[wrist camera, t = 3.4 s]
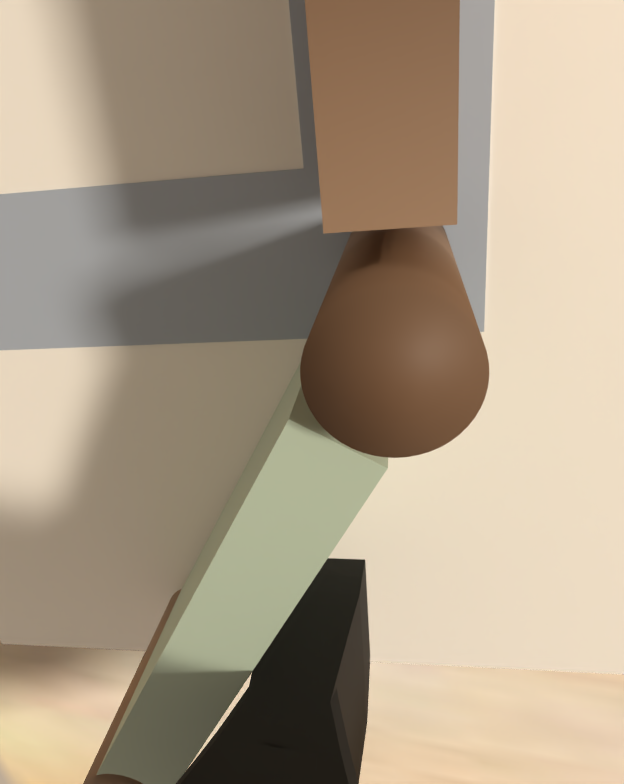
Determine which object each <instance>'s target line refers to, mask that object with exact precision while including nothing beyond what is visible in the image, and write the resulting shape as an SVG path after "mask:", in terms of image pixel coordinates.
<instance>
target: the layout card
mask: <svg viewBox="0 0 624 784" xmlns="http://www.w3.org/2000/svg"><path fill="white" fill-rule="evenodd" d="M443 227H444V229H445V232H446V235H447V237H448V240H449V243H450V246H451V249H452V252H453V255H454V258H455V261H456V264H457V267H458V269H459V272H460V275H461V278H462V281H463V284H464V287H465V290H466V293H467V296H468V299H469V301H470V304H471V307H472V310H473V313H474V316H475V319H476V322H477V325H478V328H479V330H480V333H481V336H482V339H483V342H484V345H485V348H486V351H487V355H488V361H489V383H488V389H487V393H486V396H485V399H484V401H483V404H482V406H481V408H480V410H479V412H478V413H477V415H476V417H475V418H474V420H473V421H472V422H471V423H470V425H469V426H468V427H467V428H466V429H465V430H464V431H463V432H462V433H461V434H460V435H458V436H457V437H456V438H454V439H453V440H452V441H450V442H449V443H447V444H445V445H443V446H442V447H440V448H438V449H435V450H433V451H430V452H427V453H424V454H421V455H416V456H411V457H401V458H388V469H387V470H386V472H385V473H384V475H383V476H382V478H381V479H380V481H379V482H378V484H377V485H376V487H375V488H374V490H373V491H372V493H371V494H370V496H369V497H368V499H367V500H366V502H365V503H364V505H363V506H362V508H361V509H360V511H359V512H358V514H357V515H356V517H355V518H354V520H353V521H352V523H351V524H350V526H349V527H348V529H347V530H346V532H345V533H344V535H343V536H342V538H341V539H340V541H339V542H338V544H337V545H336V547H335V548H334V550H333V551H332V553H331V554H330V556H329V557H328V558H337V559H364V560H365V564H366V584H367V603H368V622H369V642H370V662H380V663H400V664H420V665H441V666H461V667H482V668H502V669H522V670H543V671H563V672H584V673H604V674H624V0H460V32H459V119H458V206H457V225H444V226H443ZM350 234H351V232H339V233H324V234H323V222H322V210H321V197H320V185H319V172H318V160H317V147H316V135H315V122H314V110H313V97H312V85H311V73H310V60H309V48H308V35H307V23H306V10H305V0H0V641H1V644H13V645H33V646H53V647H74V648H94V649H115V650H135V651H146V650H147V648H148V646H149V643H150V641H151V639H152V637H153V635H154V633H155V631H156V629H157V627H158V624H159V622H160V620H161V618H162V616H163V614H164V612H165V610H166V607H167V605H168V603H169V601H170V599H171V597H172V596H173V594H174V593H175V592H177V591H178V590H180V589H182V587H183V585H184V584H185V582H186V580H187V578H188V576H189V574H190V572H191V570H192V568H193V566H194V564H195V563H196V561H197V559H198V557H199V555H200V553H201V551H202V549H203V547H204V545H205V543H206V541H207V540H208V538H209V536H210V534H211V532H212V530H213V528H214V526H215V524H216V522H217V520H218V519H219V517H220V515H221V513H222V511H223V509H224V507H225V505H226V503H227V501H228V499H229V498H230V496H231V494H232V492H233V490H234V488H235V486H236V484H237V482H238V480H239V478H240V477H241V475H242V473H243V471H244V469H245V467H246V465H247V463H248V461H249V459H250V457H251V456H252V454H253V452H254V450H255V448H256V446H257V444H258V442H259V440H260V438H261V436H262V435H263V433H264V431H265V429H266V427H267V425H268V423H269V421H270V419H271V417H272V415H273V413H274V412H275V410H276V408H277V406H278V404H279V402H280V400H281V398H282V396H283V394H284V392H285V391H286V389H287V387H288V385H289V383H290V381H291V379H292V377H293V375H294V373H295V371H296V370H297V368H298V366H299V364H300V362H301V357H302V353H303V349H304V346H305V343H306V341H307V339H308V336H309V334H310V331H311V329H312V326H313V324H314V322H315V319H316V317H317V314H318V312H319V309H320V307H321V305H322V302H323V300H324V297H325V295H326V292H327V290H328V288H329V285H330V283H331V280H332V278H333V275H334V273H335V271H336V268H337V266H338V263H339V261H340V258H341V256H342V254H343V251H344V249H345V246H346V244H347V242H348V239H349V237H350Z"/></svg>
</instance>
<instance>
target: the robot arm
mask: <svg viewBox="0 0 624 784" xmlns="http://www.w3.org/2000/svg"><path fill="white" fill-rule="evenodd" d="M369 669H370V642H369V622H368V603H367V584H366V564H365V560H364V559H337V558H328V559H327V560H326V562H325V563H324V565H323V566H322V568H321V569H320V571H319V572H318V574H317V575H316V577H315V578H314V580H313V581H312V583H311V584H310V586H309V587H308V589H307V590H306V592H305V593H304V595H303V596H302V598H301V599H300V601H299V602H298V604H297V605H296V607H295V608H294V610H293V611H292V613H291V614H290V616H289V617H288V619H287V620H286V622H285V623H284V625H283V626H282V628H281V629H280V631H279V632H278V634H277V635H276V637H275V638H274V640H273V641H272V643H271V644H270V646H269V647H268V649H267V650H266V652H265V653H264V655H263V656H262V658H261V659H260V661H259V662H258V664H257V665H256V667H255V668H254V670H253V671H252V675H251V680H250V685H249V687H248V689H247V690H246V692H245V693H244V694H243V696H242V697H241V699H240V700H239V702H238V703H237V704H236V706H235V707H234V709H233V710H232V712H231V713H230V714H229V716H228V717H227V719H226V720H225V722H224V723H223V724H222V726H221V727H220V728H219V730H218V731H217V732H216V734H215V735H214V736H213V737H212V739H211V740H210V741H209V743H208V744H207V745H206V747H205V748H204V749H203V751H202V752H201V753H200V754H199V756H198V757H197V758H196V759H195V761H194V762H193V763H192V764H191V766H190V767H189V768H188V769H187V770H186V772H185V773H184V774H183V775H182V777H181V778H180V779H179V780H178V781H177V783H176V784H358V783H359V776H360V769H361V762H362V754H363V747H364V740H365V733H366V726H367V713H368V692H369Z"/></svg>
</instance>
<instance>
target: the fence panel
mask: <svg viewBox="0 0 624 784" xmlns="http://www.w3.org/2000/svg"><path fill="white" fill-rule="evenodd" d="M300 365H301V362H300V364H299V366H298V368H297V370H296V371H295V373H294V375H293V377H292V379H291V381H290V383H289V385H288V387H287V389H286V391H285V392H284V394H283V396H282V398H281V400H280V402H279V404H278V406H277V408H276V410H275V412H274V413H273V415H272V417H271V419H270V421H269V423H268V425H267V427H266V429H265V431H264V433H263V435H262V436H261V438H260V440H259V442H258V444H257V446H256V448H255V450H254V452H253V454H252V456H251V457H250V459H249V461H248V463H247V465H246V467H245V469H244V471H243V473H242V475H241V477H240V478H239V480H238V482H237V484H236V486H235V488H234V490H233V492H232V494H231V496H230V498H229V499H228V501H227V503H226V505H225V507H224V509H223V511H222V513H221V515H220V517H219V519H218V520H217V522H216V524H215V526H214V528H213V530H212V532H211V534H210V536H209V538H208V540H207V541H206V543H205V545H204V547H203V549H202V551H201V553H200V555H199V557H198V559H197V561H196V563H195V564H194V566H193V568H192V570H191V572H190V574H189V576H188V578H187V580H186V582H185V584H184V585H183V587H182V589H180V590H178V591H177V592H175V593H174V594H173V596H172V597H171V599H170V601H169V603H168V605H167V607H166V610H165V612H164V614H163V616H162V618H161V620H160V622H159V624H158V627H157V629H156V631H155V633H154V635H153V637H152V639H151V641H150V643H149V646H148V648H147V650H146V652H145V654H144V656H143V658H142V660H141V663H140V665H139V667H138V669H137V671H136V673H135V675H134V677H133V679H132V682H131V684H130V686H129V688H128V690H127V692H126V694H125V696H124V698H123V701H122V703H121V705H120V707H119V709H118V711H117V713H116V715H115V718H114V720H113V722H112V724H111V726H110V728H109V730H108V732H107V734H106V737H105V739H104V741H103V743H102V745H101V747H100V749H99V751H98V753H97V756H96V758H95V760H94V762H93V764H92V766H91V768H90V770H89V773H88V775H87V777H86V779H85V781H84V783H83V784H176V783H177V781H178V780H179V779H180V778H181V777H182V775H183V774H184V773H185V771H186V770H187V768H188V767H189V765H190V764H191V762H192V761H193V759H194V758H195V756H196V755H197V753H198V752H199V750H200V749H201V747H202V746H203V744H204V743H205V741H206V740H207V738H208V737H209V735H210V734H211V732H212V731H213V729H214V728H215V726H216V725H217V724H218V722H219V721H220V719H221V718H222V716H223V715H224V713H225V712H226V710H227V709H228V707H229V706H230V704H231V703H232V701H233V700H234V698H235V697H236V695H237V694H238V692H239V691H240V689H241V688H242V686H243V685H244V683H245V682H246V680H247V679H248V677H249V676H250V674H251V673H252V671H253V670H254V668H255V667H256V665H257V664H258V662H259V661H260V659H261V658H262V656H263V655H264V653H265V652H266V650H267V649H268V647H269V646H270V644H271V643H272V641H273V640H274V638H275V637H276V635H277V634H278V632H279V631H280V629H281V628H282V626H283V625H284V623H285V622H286V620H287V619H288V617H289V616H290V614H291V613H292V611H293V610H294V608H295V607H296V605H297V604H298V602H299V601H300V599H301V598H302V596H303V595H304V593H305V592H306V590H307V589H308V587H309V586H310V584H311V583H312V581H313V580H314V578H315V577H316V575H317V574H318V572H319V571H320V569H321V568H322V566H323V565H324V563H325V562H326V560H327V559H328V557H329V556H330V554H331V553H332V551H333V550H334V548H335V547H336V545H337V544H338V542H339V541H340V539H341V538H342V536H343V535H344V533H345V532H346V530H347V529H348V527H349V526H350V524H351V523H352V521H353V520H354V518H355V517H356V515H357V514H358V512H359V511H360V509H361V508H362V506H363V505H364V503H365V502H366V500H367V499H368V497H369V496H370V494H371V493H372V491H373V490H374V488H375V487H376V485H377V484H378V482H379V481H380V479H381V478H382V476H383V475H384V473H385V472H386V470H387V469H388V457H379V456H373V455H369V454H366V453H362V452H359V451H357V450H355V449H352V448H350V447H348V446H346V445H345V444H343V443H341V442H340V441H338V440H337V439H335V438H334V437H332V436H331V435H330V434H329V433H328V432H327V431H326V430H325V429H324V428H323V427H322V426H321V425H320V424H319V422H318V421H317V420H316V419H315V417H314V416H313V414H312V412H311V411H310V409H309V407H308V405H307V403H306V400H305V397H304V394H303V391H302V386H301V380H300Z"/></svg>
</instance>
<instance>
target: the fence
mask: <svg viewBox="0 0 624 784" xmlns="http://www.w3.org/2000/svg"><path fill="white" fill-rule="evenodd" d="M305 10H306V23H307V35H308V48H309V60H310V73H311V85H312V97H313V110H314V122H315V135H316V147H317V160H318V172H319V185H320V197H321V210H322V222H323V234H324V233H339V232H351V234H350V237H349V239H348V242H347V244H346V246H345V249H344V251H343V254H342V256H341V258H340V261H339V263H338V266H337V268H336V271H335V273H334V275H333V278H332V280H331V283H330V285H329V288H328V290H327V292H326V295H325V297H324V300H323V302H322V305H321V307H320V309H319V312H318V314H317V317H316V319H315V322H314V324H313V326H312V329H311V331H310V334H309V336H308V339H307V341H306V343H305V346H304V349H303V353H302V357H301V365H300V380H301V386H302V391H303V394H304V397H305V400H306V403H307V405H308V407H309V409H310V411H311V412H312V414H313V416H314V417H315V419H316V420H317V421H318V422H319V424H320V425H321V426H322V427H323V428H324V429H325V430H326V431H327V432H328V433H329V434H330V435H331V436H332V437H334V438H335V439H337V440H338V441H340V442H341V443H343V444H345V445H346V446H348V447H350V448H352V449H355V450H357V451H359V452H362V453H366V454H369V455H373V456H379V457H388V458H401V457H411V456H416V455H421V454H424V453H427V452H430V451H433V450H435V449H438V448H440V447H442V446H443V445H445V444H447V443H449V442H450V441H452V440H453V439H454V438H456V437H457V436H458V435H460V434H461V433H462V432H463V431H464V430H465V429H466V428H467V427H468V426H469V425H470V423H471V422H472V421H473V420H474V418H475V417H476V415H477V413H478V412H479V410H480V408H481V406H482V404H483V401H484V399H485V396H486V393H487V389H488V383H489V361H488V355H487V351H486V348H485V345H484V342H483V339H482V336H481V333H480V330H479V328H478V325H477V322H476V319H475V316H474V313H473V310H472V307H471V304H470V301H469V299H468V296H467V293H466V290H465V287H464V284H463V281H462V278H461V275H460V272H459V269H458V267H457V264H456V261H455V258H454V255H453V252H452V249H451V246H450V243H449V240H448V237H447V235H446V232H445V229H444V227H443V226H444V225H457V206H458V119H459V32H460V0H305Z"/></svg>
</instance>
